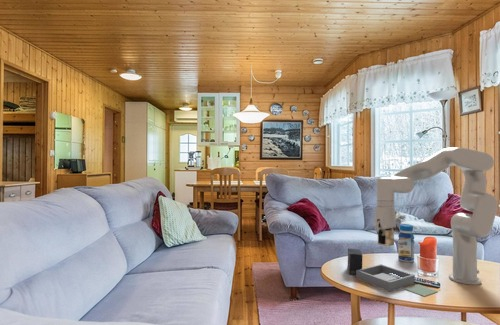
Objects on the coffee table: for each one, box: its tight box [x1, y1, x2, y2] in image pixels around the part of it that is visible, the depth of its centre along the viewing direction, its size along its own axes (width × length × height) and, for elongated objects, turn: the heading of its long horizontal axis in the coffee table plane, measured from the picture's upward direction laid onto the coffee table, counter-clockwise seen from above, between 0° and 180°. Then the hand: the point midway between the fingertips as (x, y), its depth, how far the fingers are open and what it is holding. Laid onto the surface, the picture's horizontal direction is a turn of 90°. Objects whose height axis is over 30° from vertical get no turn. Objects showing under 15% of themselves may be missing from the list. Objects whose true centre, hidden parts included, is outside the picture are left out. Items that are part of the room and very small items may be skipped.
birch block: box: [377, 229, 395, 247], centre depth 150 cm, size 5×5×7 cm
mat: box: [404, 284, 439, 298], centre depth 139 cm, size 10×9×1 cm
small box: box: [347, 248, 363, 276], centre depth 162 cm, size 11×6×10 cm, turn 168°
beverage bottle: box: [397, 223, 416, 263], centre depth 182 cm, size 8×8×20 cm
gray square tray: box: [355, 264, 416, 293], centre depth 150 cm, size 18×18×4 cm
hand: (385, 242), depth 150 cm, fingers closed on birch block, 5 cm apart
